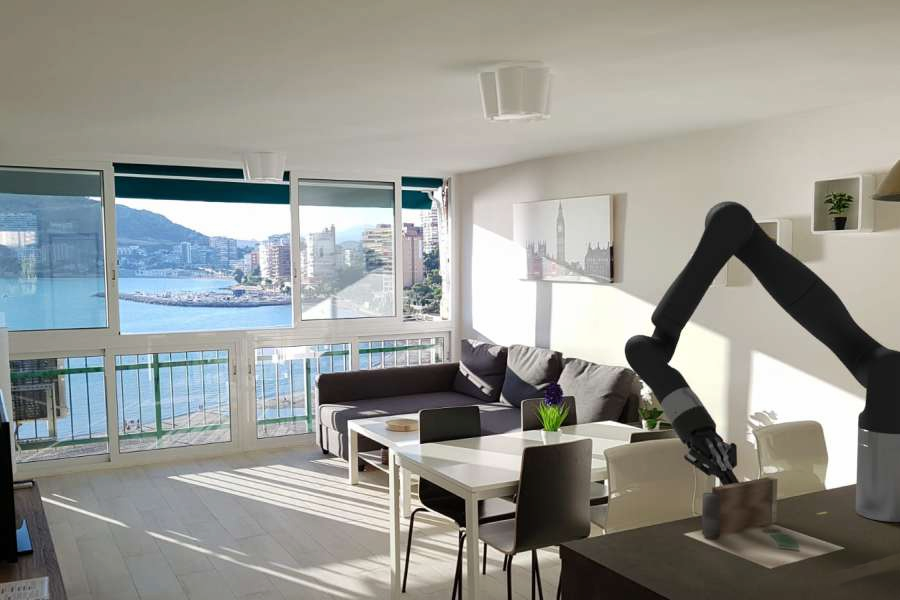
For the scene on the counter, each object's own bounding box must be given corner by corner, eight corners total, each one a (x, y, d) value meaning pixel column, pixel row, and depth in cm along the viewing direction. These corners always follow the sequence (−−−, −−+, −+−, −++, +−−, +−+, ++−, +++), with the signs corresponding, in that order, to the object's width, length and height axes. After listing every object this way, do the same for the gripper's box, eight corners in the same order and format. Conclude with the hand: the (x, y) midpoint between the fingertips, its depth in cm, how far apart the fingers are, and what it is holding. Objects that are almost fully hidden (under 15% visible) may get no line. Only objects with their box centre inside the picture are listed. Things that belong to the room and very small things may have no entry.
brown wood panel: (765, 518, 144) (766, 476, 143) (779, 523, 141) (780, 479, 141) (698, 533, 135) (699, 488, 135) (711, 538, 132) (712, 492, 132)
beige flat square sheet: (755, 526, 145) (755, 517, 145) (844, 556, 130) (844, 546, 130) (683, 542, 136) (683, 532, 136) (770, 577, 120) (770, 567, 120)
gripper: (673, 407, 149) (723, 485, 139) (721, 402, 155) (771, 476, 145) (653, 429, 154) (699, 506, 143) (700, 423, 160) (747, 496, 150)
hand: (735, 490), depth 144 cm, fingers closed
